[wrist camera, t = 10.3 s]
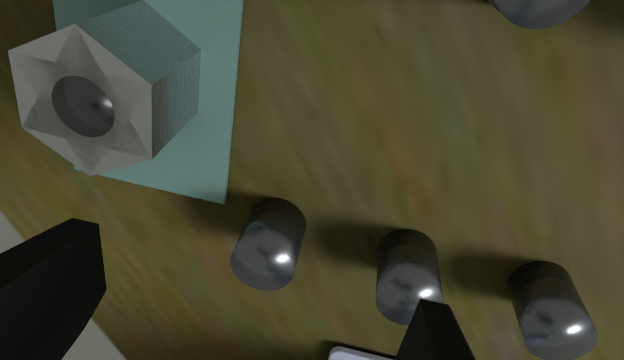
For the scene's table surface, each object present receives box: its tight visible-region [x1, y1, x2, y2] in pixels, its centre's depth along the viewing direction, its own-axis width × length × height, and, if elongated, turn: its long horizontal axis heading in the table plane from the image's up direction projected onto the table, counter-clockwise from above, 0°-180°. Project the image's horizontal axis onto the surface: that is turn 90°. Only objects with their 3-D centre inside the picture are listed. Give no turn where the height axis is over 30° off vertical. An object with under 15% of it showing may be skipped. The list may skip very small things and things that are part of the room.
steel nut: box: [8, 0, 201, 176], centre depth 15 cm, size 5×4×4 cm
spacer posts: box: [230, 0, 598, 360], centre depth 16 cm, size 15×15×3 cm
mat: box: [52, 0, 243, 205], centre depth 17 cm, size 11×7×1 cm, turn 170°
